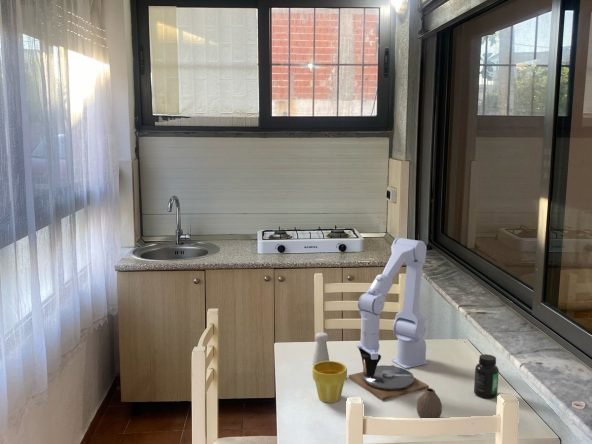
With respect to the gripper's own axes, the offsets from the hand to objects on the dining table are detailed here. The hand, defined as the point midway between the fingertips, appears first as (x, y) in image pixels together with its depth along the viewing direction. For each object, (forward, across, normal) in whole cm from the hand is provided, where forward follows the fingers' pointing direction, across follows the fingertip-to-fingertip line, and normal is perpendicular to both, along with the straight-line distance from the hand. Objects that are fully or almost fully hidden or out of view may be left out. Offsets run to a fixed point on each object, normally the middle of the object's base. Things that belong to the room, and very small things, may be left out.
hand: (368, 372), depth 189 cm
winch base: (+4, 0, +6) cm, 7 cm away
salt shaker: (+4, -11, -14) cm, 18 cm away
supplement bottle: (+4, +10, +34) cm, 36 cm away
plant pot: (+4, +8, -14) cm, 17 cm away
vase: (+4, +24, +12) cm, 27 cm away
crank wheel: (+2, 0, +6) cm, 7 cm away
